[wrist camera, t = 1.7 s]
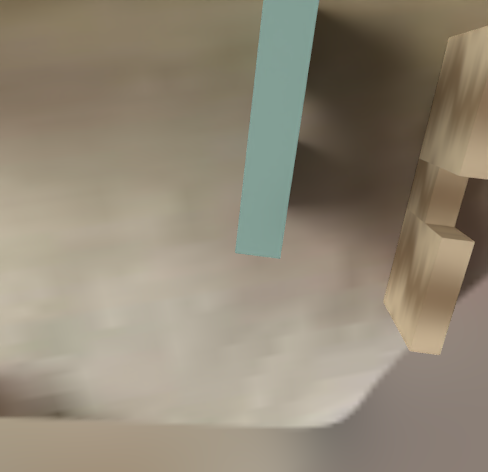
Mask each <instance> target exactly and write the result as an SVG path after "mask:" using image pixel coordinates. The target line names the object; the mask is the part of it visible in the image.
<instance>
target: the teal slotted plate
mask: <svg viewBox="0 0 488 472" xmlns="http://www.w3.org/2000/svg"><path fill="white" fill-rule="evenodd" d="M318 4H319V0H264V1H263V10H262V19H261V28H260V37H259V45H258V54H257V63H256V72H255V81H254V90H253V99H252V108H251V117H250V126H249V135H248V143H247V152H246V161H245V170H244V179H243V188H242V197H241V206H240V215H239V224H238V233H237V241H236V250H235V253H239V254H247V255H255V256H263V257H271V258H279V259H280V256H281V249H282V243H283V236H284V229H285V223H286V216H287V209H288V203H289V196H290V189H291V183H292V176H293V170H294V163H295V156H296V150H297V143H298V136H299V130H300V123H301V117H302V110H303V103H304V97H305V90H306V83H307V77H308V70H309V63H310V57H311V50H312V44H313V37H314V30H315V24H316V17H317V10H318Z"/></svg>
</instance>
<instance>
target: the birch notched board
mask: <svg viewBox="0 0 488 472" xmlns="http://www.w3.org/2000/svg"><path fill="white" fill-rule="evenodd" d="M469 177H471V178H479V179H488V26H485V27H482V28H479V29H475V30H472V31H469V32H466V33H463V34H459V35H456V36H453V37H450V38H449V39H448V43H447V47H446V51H445V55H444V59H443V63H442V67H441V71H440V75H439V79H438V83H437V88H436V92H435V96H434V100H433V104H432V108H431V112H430V116H429V120H428V124H427V128H426V132H425V136H424V140H423V144H422V148H421V152H420V156H419V160H418V164H417V168H416V172H415V176H414V180H413V184H412V189H411V193H410V197H409V201H408V205H407V209H406V213H405V217H404V221H403V225H402V229H401V233H400V237H399V241H398V245H397V249H396V253H395V257H394V261H393V265H392V269H391V273H390V277H389V281H388V286H387V290H386V294H385V298H384V304H385V306H386V308H387V310H388V311H389V313H390V315H391V317H392V319H393V321H394V323H395V324H396V326H397V328H398V330H399V332H400V334H401V336H402V337H403V339H404V341H405V343H406V345H407V347H408V349H409V350H410V351H413V352H420V353H428V354H436V355H440V353H441V349H442V346H443V343H444V340H445V337H446V333H447V330H448V327H449V323H450V321H451V317H452V314H453V311H454V308H455V305H456V301H457V298H458V295H459V292H460V289H461V285H462V282H463V279H464V276H465V272H466V269H467V266H468V263H469V260H470V256H471V253H472V250H473V247H474V244H475V242H474V241H473V240H472V239H470V238H469V237H468V236H466V235H465V234H463V233H462V232H461V231H459V230H458V229H457V228H455V224H456V220H457V217H458V213H459V210H460V207H461V203H462V200H463V196H464V193H465V189H466V186H467V182H468V179H469Z"/></svg>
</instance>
